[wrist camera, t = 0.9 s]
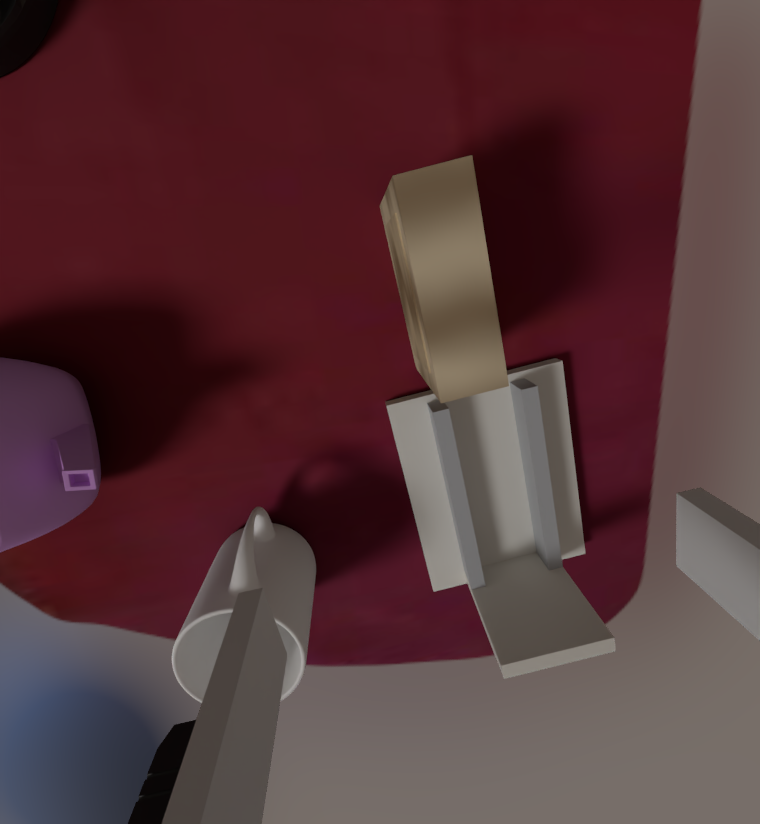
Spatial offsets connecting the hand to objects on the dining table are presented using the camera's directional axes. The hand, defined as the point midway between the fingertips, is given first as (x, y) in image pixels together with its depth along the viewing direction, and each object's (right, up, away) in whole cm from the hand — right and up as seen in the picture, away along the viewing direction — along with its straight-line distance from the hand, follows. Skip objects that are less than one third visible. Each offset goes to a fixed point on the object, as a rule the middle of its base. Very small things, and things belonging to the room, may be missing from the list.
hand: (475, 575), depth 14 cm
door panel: (0, +15, +19) cm, 24 cm away
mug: (-13, -6, +25) cm, 29 cm away
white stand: (+6, -1, +24) cm, 25 cm away
